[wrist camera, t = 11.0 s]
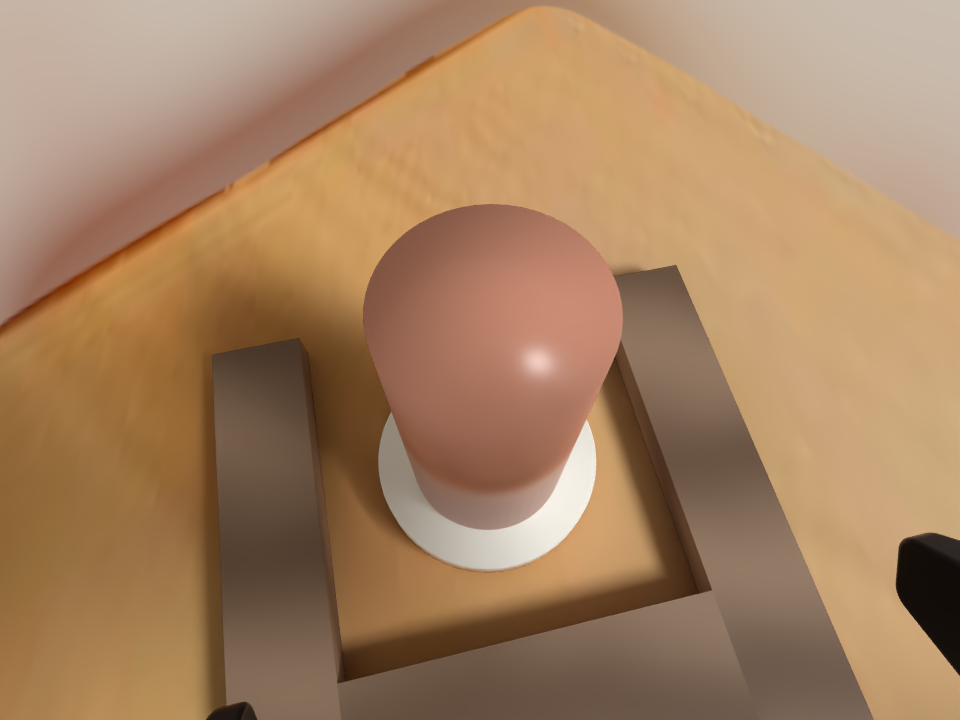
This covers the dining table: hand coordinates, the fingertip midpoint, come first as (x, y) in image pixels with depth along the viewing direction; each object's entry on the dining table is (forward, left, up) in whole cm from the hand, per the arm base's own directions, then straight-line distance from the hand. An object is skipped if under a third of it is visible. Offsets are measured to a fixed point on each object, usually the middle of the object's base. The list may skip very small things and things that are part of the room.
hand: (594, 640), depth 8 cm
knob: (+3, +5, -11) cm, 13 cm away
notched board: (+1, +3, -11) cm, 12 cm away
